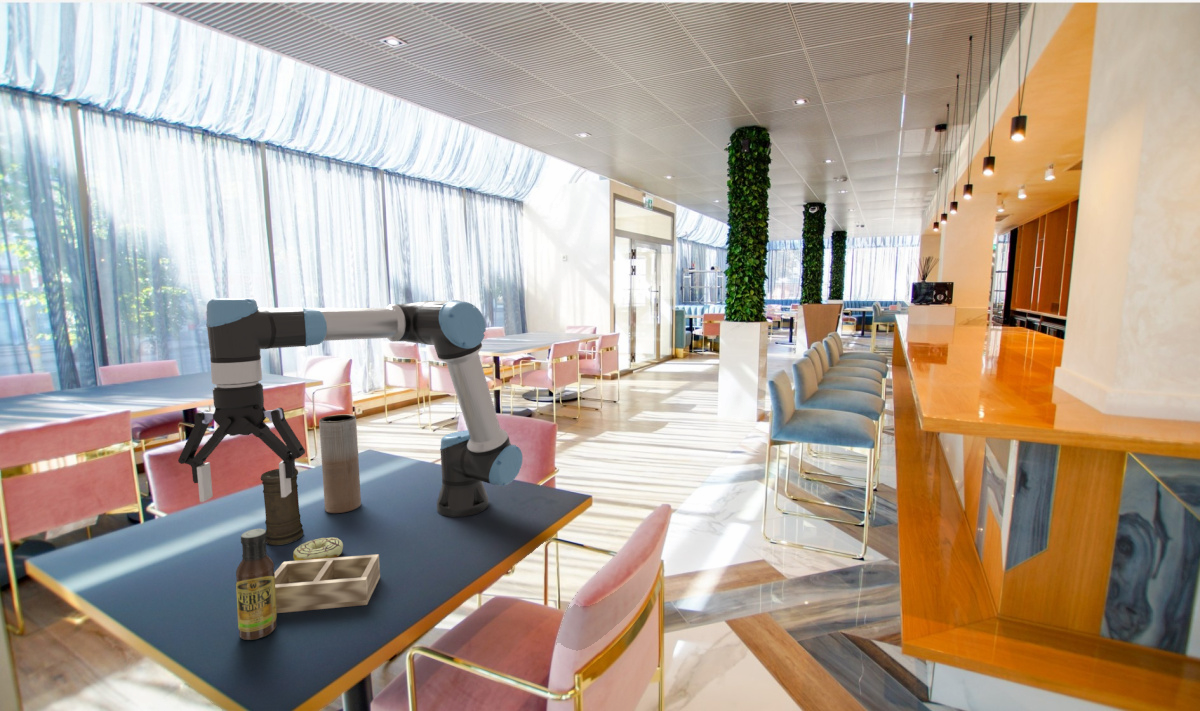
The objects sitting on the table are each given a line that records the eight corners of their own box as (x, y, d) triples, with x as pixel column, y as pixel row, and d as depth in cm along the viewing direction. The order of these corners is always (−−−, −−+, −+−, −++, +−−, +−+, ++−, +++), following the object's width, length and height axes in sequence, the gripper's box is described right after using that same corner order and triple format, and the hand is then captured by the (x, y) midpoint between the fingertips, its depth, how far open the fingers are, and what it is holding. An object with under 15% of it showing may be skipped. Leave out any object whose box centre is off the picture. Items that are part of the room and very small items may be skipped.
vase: (364, 508, 159) (358, 418, 156) (327, 516, 154) (321, 423, 151) (357, 498, 168) (352, 412, 164) (322, 505, 162) (316, 416, 159)
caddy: (380, 577, 121) (378, 554, 120) (367, 604, 110) (365, 579, 109) (285, 585, 118) (283, 561, 117) (262, 614, 107) (260, 588, 106)
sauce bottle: (235, 646, 97) (226, 543, 95) (242, 627, 103) (234, 529, 101) (276, 637, 100) (268, 536, 98) (281, 618, 106) (273, 523, 103)
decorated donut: (350, 557, 130) (349, 543, 130) (303, 574, 123) (302, 559, 122) (333, 544, 137) (333, 530, 137) (288, 559, 130) (287, 544, 129)
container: (286, 547, 135) (280, 479, 133) (256, 544, 137) (250, 477, 135) (311, 531, 144) (307, 468, 142) (283, 529, 146) (278, 465, 144)
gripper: (319, 379, 101) (325, 485, 104) (174, 382, 97) (184, 493, 100) (303, 385, 94) (311, 500, 96) (146, 389, 90) (158, 509, 92)
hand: (246, 497), depth 98 cm, fingers open, 13 cm apart
